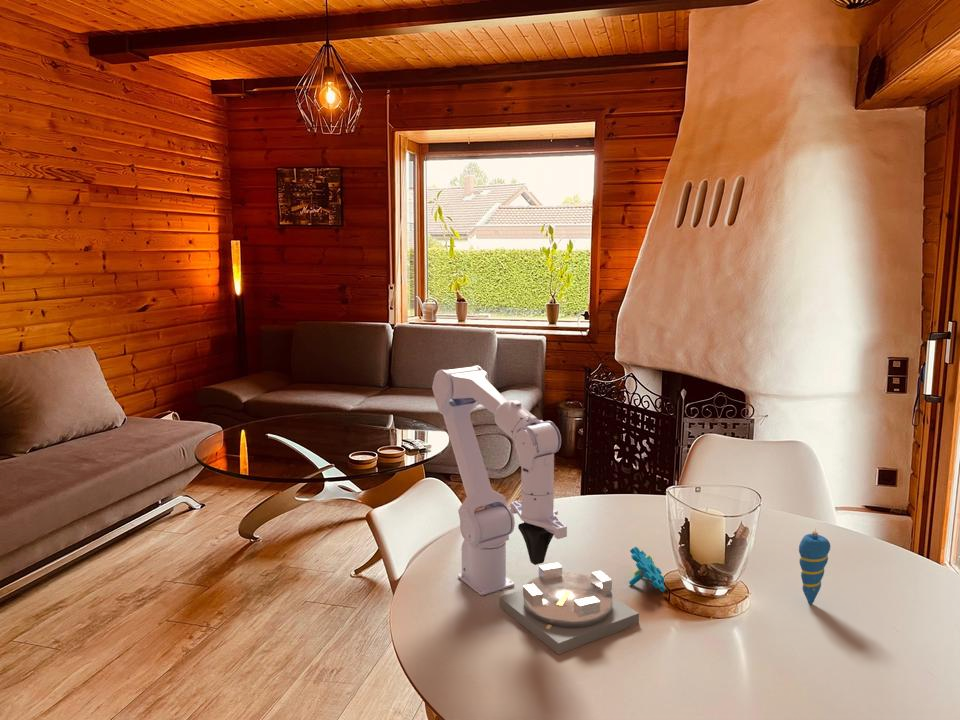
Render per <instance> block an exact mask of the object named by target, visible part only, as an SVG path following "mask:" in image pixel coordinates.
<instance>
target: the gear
mask: <svg viewBox="0 0 960 720" xmlns="http://www.w3.org/2000/svg"><path fill="white" fill-rule="evenodd" d="M629 552H630V553H631V555H630V557H631V559H632V560H633V561H635V562H636V563H635V566H636V568H637V570H636V571H635V572H634V573H633V574H634V577H633V578H632V579H630V580H629V581H628V583H629V584H630V586H632V587H633V586H634V585H635V584H637V583H638V582H639V581H640V580H642V579H643V578H645V580H646V581H649V580H651V581H652V582H651V584H652V586H653V587H654V588H656V589H658V590H659V591H661V592H662V593H664V592H665V591H666V590H665V586H664V578H665V577H664V576H663V575H662V574H663V573H662V570H661V569H660V568H659V567H657V566H656V564H655V562H654V561H653V557H652V556H651V555H649V554H648V555H647V553H646V552H645V551H644V550H640V549H639V548H638V546H634V547H632V548H631V549H630V550H629Z"/></svg>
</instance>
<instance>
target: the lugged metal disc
mask: <svg viewBox="0 0 960 720" xmlns="http://www.w3.org/2000/svg"><path fill="white" fill-rule="evenodd" d="M590 575H591V576H589V575H586V574H582V573H576V572H563V566H562V565H561V564H560V562H554V563H553V562H552V563H547V564H542V565H541V564H540V565H538V576H537V577H535V578H532V579H531V580H529V581H528V582H527V583H526V584H524V585H522V590H523V596H524V606H525V609H526V610H527V611H528V612H529V613H530V614H531V615H532V616H533V617H535V618H536V619H538V620H540V621H543V622H545V623H548V624H552V625H556V626H563V627H583V626H589V625H593V624H596V623H598V622H601V621H603V620H604V619H606V618H607V617H608V616H609V615H610V613H611V611H612V596H613V592H612V586H613V585H612V584H613V579H612V578H611V577H609V576H608V575H607V574H606V573H605V572H604V571H602V570H596V571H591V573H590Z"/></svg>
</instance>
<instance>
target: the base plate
mask: <svg viewBox="0 0 960 720" xmlns="http://www.w3.org/2000/svg"><path fill="white" fill-rule="evenodd" d="M498 597H499V602H498V603H499V606H498V607H499V608H500V609H502V610H503V611H504V612H505V613H507V614H508V615H509V617H511V618H513V619H514V620H515V621H516V622H518V623H519V624H520V625H521V626H522V627H524V628H525V629H526V630H528V631H529V632H530V633H531V634H532V635H534V636H535V637H536V638H537V639H538V640H540V641H541V642H542V643H544V644H545V645H546V646H547V647H548V648H549V649H551V650H552V651H553V652H554V653H556V654H557V655H560V654H563V653H566V652H568V651H571V650H573V649H576V648H578V647H581V646H584V645H586V644H590V643H592V642H595V641H597V640H600V639H602V638H604V637H607V636H610V635H613V634H615V633H618V632H621V631H622V630H626V629H627V628H630V627H634V626H636V625H638V624H640V623H639V622H640V612H638V611H637V610H635V609H633V608H632V607H630V606H629V605H628V604H625V603H624V602H622V601H620V600H619V599H618V598H616V597H614V596H613V595H612V611H611V613H610V615H609V616H608V617H607V618H606V619H604V620H603V621H601V622H598V623H596V624H593V625H589V626H583V627H563V626H556V625H552V624H548V623H545V622H543V621H540V620H538V619H536V618H535V617H533V616H532V615H531V614H530V613H529V612H528V611H527V610H526V609H525V606H524V596H523V589H520V590H517V591H513V592H511V593H506V594H504V595H502V596H498Z"/></svg>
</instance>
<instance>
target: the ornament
mask: <svg viewBox="0 0 960 720" xmlns="http://www.w3.org/2000/svg"><path fill="white" fill-rule="evenodd" d="M830 551H831V543H830V541H829V539H827V537H825V536H822V535H819V532H818V531H817V530H816V528H815V530H814V531H812V533H807V534H805V535H804V536H803V537H802V539H801V540H800V542H799V545H798V552H799V555H800V557H799V565H800V568H801V573H800V576H801V580H802V591H803V594H804V596H805V599H806V600H807V604H809V605H813V604H814V602H815V599H816V598H817V596H818V594H819V592H820V590H821V587H822V579H823V577H824V575H825V568H826V565H827V564H828V562H829V556H828V555H829V553H830Z"/></svg>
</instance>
